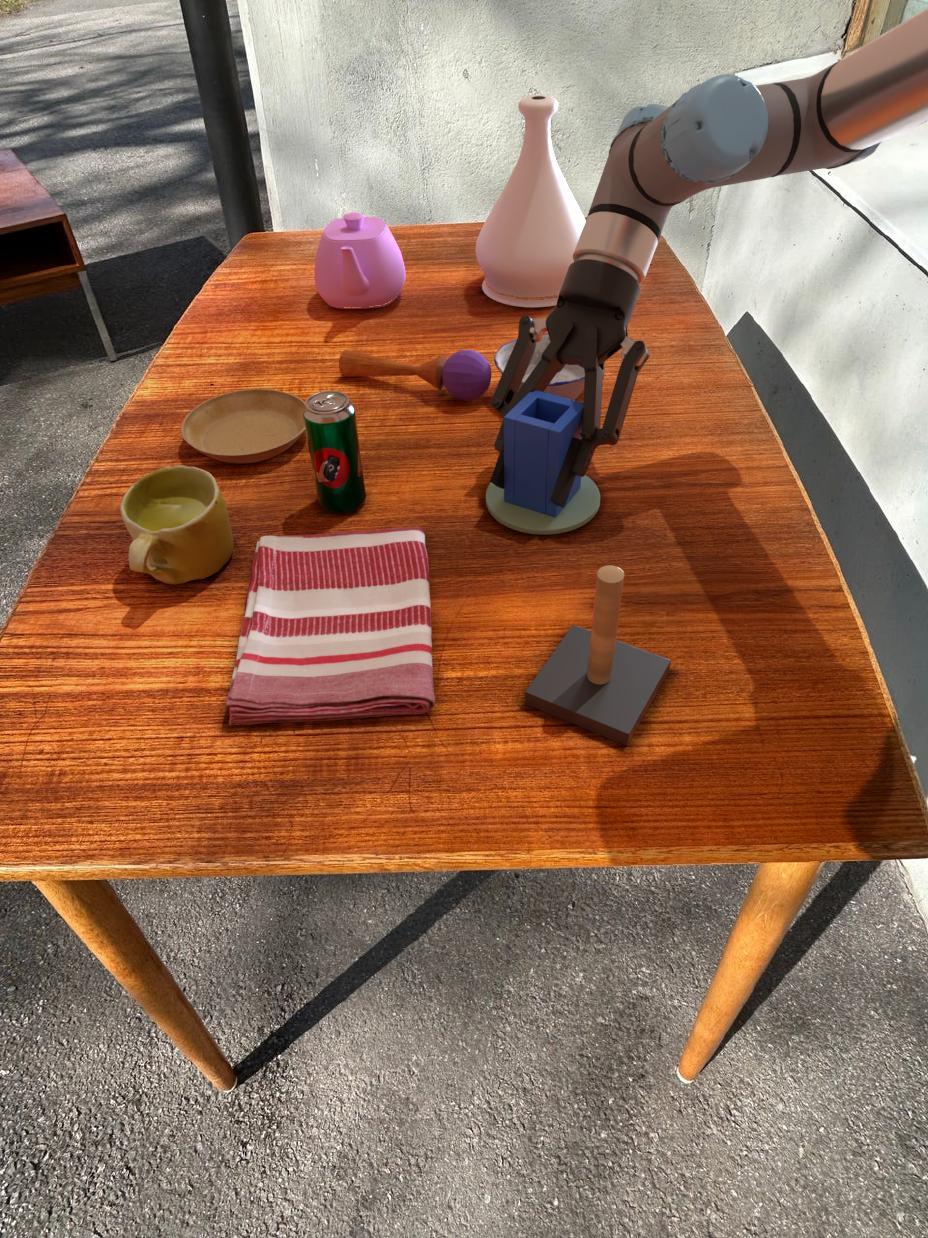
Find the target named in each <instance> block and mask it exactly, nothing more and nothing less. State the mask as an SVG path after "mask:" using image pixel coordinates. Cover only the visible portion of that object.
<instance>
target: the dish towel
mask: <svg viewBox="0 0 928 1238" xmlns="http://www.w3.org/2000/svg"><path fill="white" fill-rule="evenodd" d="M247 586H248V587H247V591H246V597H247V598H246V606H245V611H244V616H243V617H244V618H243V622H242V626H241V629H240V633H239V638H238V645H237V652H236V658H235V664H234V668H233V672H232V676H231V681H230V687H229V691H228V694H227V698H226V699H225V703H224V704H225V707H227V708H228V710H229V713H228V714H229V720H228V724H229V726H231V727H232V726H237V725H238V726H239V725H249V726H250V725H251V726H252V725H258V724H259V725H260V724H268V723H269V724H270V723H271V724H273V723H275V724H276V723H280V724H282V723H292V722H293V723H297V722H298V723H301V722H302V723H303V722H322V721H324V722H325V721H338V720H350V719H363V718H364V719H365V718H372V717H375V718H376V717H378V718H379V717H387V716H403V715H419V714H425V713H428V712H431V710H432V709H434V708H435V705H436V702H435V701H436V696H435V691H434V674H433V673H434V672H433V671H434V670H433V668H434V667H433V641H432V631H433V630H432V620H433V619H432V607H431V606H432V605H431V594H430V563H429V553H428V549H427V546H426V533H425V530H424V529H423V528H422V527H420V526H406V527H392V528H391V527H390V528H385V529H383V528H382V529H372V530H352V531H337V532H328V533H316V534H292V535H291V534H281V535H261V537H260V538H259V540H258V541H256V546H255V551H254V555H253V559H252V563H251V569H250V574H249V579H248V585H247Z"/></svg>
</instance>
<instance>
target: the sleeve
mask: <svg viewBox="0 0 928 1238" xmlns="http://www.w3.org/2000/svg"><path fill="white" fill-rule="evenodd" d="M583 408H584V406H583V401H578V400H576V399H575V400H571V399H567V398H563V397H559V396H555V395H551V394H547V393H543V392H540V391H536V390H534V391H532V392H529V393H528V394H527V395H526V396H525V397H524V398H523V399H522V400H521V401H520V402H519V403H518V404H517V405H516V406H515V407H514V408H513V409H512V410H511V411H510V412H509V413H508V414H507V415H506V416H505V417H504V502H507V503H510V504H513V505H517V506H520V507H523V508H526V509H530V510H533V511H536V512H539V513H542V514H546V515H549V516H552V517H555V518H556V517H557V515H558V514H559V513H560V512H561V511H562V509H563V507H560V506H557V505H556V504H554V503H553V502H551V501H550V498H551V495H552V493H553V490H554V487H555V484H556V482H557V479H558V476H559V473H560V471H561V468H562V465H563V462H564V460H565V457H566V454H567V451H568V448H569V446H570V443H571V440H572V437H574V438H578V439H580V440H581V439H582V437H581V436H580V432H581V433H582V418H583ZM580 487H581V476H577V475H576V477H575V480H574V482H573V485H572V488H571V491H570V493H569V496H568V499H567V502H566V504H567V503H568V502H569V501H570V500H571V498H572V497H573V496H574V495H575V494H576V492H577V491H578V490H579V489H580ZM566 504H565V506H566Z"/></svg>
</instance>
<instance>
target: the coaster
mask: <svg viewBox="0 0 928 1238" xmlns="http://www.w3.org/2000/svg"><path fill="white" fill-rule="evenodd" d="M485 505H486V509H487V511H488V512H489V515H491V517H493V518H494V519H495V520H496V521H497V522H498V523H500V524H501V525H503V526H504V527H506V528H509V529H511V530H514V531H517V532H521V533H525V534H530V535H539V536H541V535H548V536H549V535H557V534H564V533H567V532H572V531H574V530H576V529H578V528H581V527H583V526H585V525H586V524H588V523H589V522H591V520H592V519H593V518H594V517H595V516H596V514H597V513H598V511H599V508H600V505H601V493H600V490H599V487H598V486H597V485H596V483H595V482H594V481H593V480H592V479H591V478H590V477H589V476H587V475H586V474H585V475H584V477H581V487H580V489H579V490H578V491H577V492H576V494H575V495H574V496H573V497H572V498H571V500H570V501H569V502H568V503H567V504H566V506H565V507H564V508H563V509H562V511H561V512H560V513H559V514H558V515H557V517H556V518H555V517H552V516H549V515H546V514H542V513H539V512H536V511H533V510H530V509H526V508H523V507H520V506H517V505H513V504H510V503H507V502H504V489H502V488H499V487H497V486H496V485H494V484H493V483H491V482H489V484H488V486H487V488H486V491H485Z"/></svg>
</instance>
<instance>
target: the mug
mask: <svg viewBox="0 0 928 1238" xmlns="http://www.w3.org/2000/svg"><path fill="white" fill-rule="evenodd" d="M119 508H120V514H121V519H122V521H123V524H124V526H125V528H126V530H127V533H128V534H129V535H130V537H131V539H132V542H131V543H130V545H129V547H128V566H129V570H130V571H133V572H137V573H144V574H148V575H150V576H152V578H154V579H156V580H157V581H160V582H162V583H164V584H168V585H181V584H185V583H187V582H190V581H196V580H197V581H198V580H204V579H206V578H208V577H211V576H213V575H215V574H216V573H218V572H220V571H221V569H222V568H223V567H224V565H225V564H227V563H228V562H229V561H230V559H231V556H232V554H233V552H234V546H235V544H234V543H235V542H234V536H233V529H232V525H231V521H230V516H229V510H228V507H227V504H226V501H225V498H224V497H223V494H222V490H221V489H220V486H219V485H218V483H217V481H216V479H215V477H214V476H213V475H212V474H211V473H210V472H209V471H206V470H204V469H202V468H199V467H197V466H186V465H185V464H183V465H182V464H181V465H175V466H165V467H162V468H158V469H156V470H153V471H152V472H149V473H147V474H145V475H143V476H142V477H140V478H139V479H138V480H136V481H135V482H134V483H133V484H132V485H130V486H129V488H128V489H127V491H126V492H125V493H124V495H123V497H122V499H121V503H120V507H119Z"/></svg>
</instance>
